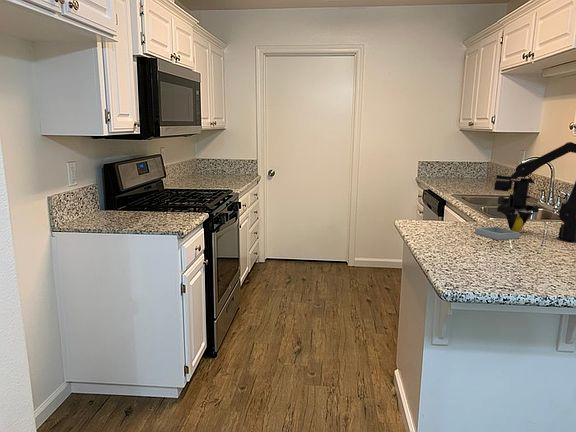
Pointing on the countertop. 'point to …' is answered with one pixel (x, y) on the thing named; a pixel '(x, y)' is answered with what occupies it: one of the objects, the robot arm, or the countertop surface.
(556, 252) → the countertop surface
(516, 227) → the lemon
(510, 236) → the dish
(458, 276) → the countertop surface
